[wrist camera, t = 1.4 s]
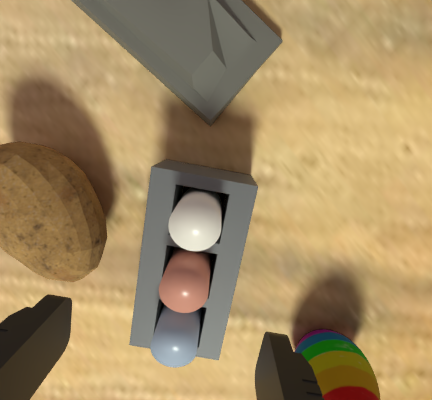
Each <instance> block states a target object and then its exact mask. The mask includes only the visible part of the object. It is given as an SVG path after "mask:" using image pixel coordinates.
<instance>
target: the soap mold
mask: <svg viewBox="0 0 432 400" xmlns="http://www.w3.org/2000/svg"><path fill="white" fill-rule="evenodd" d="M72 1H73V2H74V3H75V4H76V5H77V6H78V7H79V8H80V9H81V10H83V11H84V12H85V13H86V14H87V15H88V16H89V17H90V18H91V19H93V20H94V21H95V22H96V23H97V24H98V25H99V26H100V27H101V28H102V29H104V30H105V31H106V32H107V33H108V34H109V35H110V36H111V37H112V38H113V39H115V40H116V41H117V42H118V43H119V44H120V45H121V46H122V47H123V48H124V49H126V50H127V51H128V52H129V53H130V54H131V55H132V56H133V57H134V58H135V59H137V60H138V61H139V62H140V63H141V64H142V65H143V66H144V67H145V68H146V69H148V70H149V71H150V72H151V73H152V74H153V75H154V76H155V77H156V78H157V79H159V80H160V81H161V82H162V83H163V84H164V85H165V86H166V87H167V88H169V89H170V90H171V91H172V92H173V93H174V94H175V95H176V96H177V97H178V98H180V99H181V100H182V101H183V102H184V103H185V104H186V105H187V106H188V107H190V108H191V109H192V110H193V111H194V112H195V113H196V114H197V115H198V116H199V117H201V118H202V119H203V120H204V121H205V122H206V123H207V124H208V125H209V126H211V125H212V124H213V122H214V121H215V120H216V119H217V118H218V116H219V115H220V114H221V113H222V112H223V110H224V109H225V108H226V107H227V106H228V105H229V103H230V102H231V101H232V100H233V99H234V97H235V96H236V95H237V94H238V93H239V91H240V90H241V89H242V88H243V87H244V85H245V84H246V83H247V82H248V81H249V80H250V78H251V77H252V76H253V75H254V74H255V72H256V71H257V70H258V69H259V68H260V66H261V65H262V64H263V63H264V62H265V61H266V60H267V59H268V58H269V56H270V55H271V54H272V53H273V52H274V51H275V50H276V49H277V48H278V47H279V45H280V44H281V43H282V40H281V39H280V38H279V37H278V36H277V35H276V34H275V33H274V32H273V31H272V30H271V29H270V28H269V27H268V26H267V25H266V24H265V23H264V22H263V21H262V20H261V19H260V18H259V17H258V16H257V15H256V14H255V13H254V12H253V11H252V10H251V9H250V8H249V7H248V6H247V5H246V4H245V3H244V2H243V1H242V0H72Z"/></svg>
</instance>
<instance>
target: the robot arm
mask: <svg viewBox="0 0 432 400" xmlns="http://www.w3.org/2000/svg"><path fill="white" fill-rule="evenodd" d="M71 312H72V300H71V298H67V297H61V296H55V295H46V296H45V297H44V298H43V299H41V300H40V301H39V302H38V303H37V304H36V305H35V306H34V307H33V308H30V307H26V308H24V309H22V310H20V311H18V312H16V313H14V314H12V315H10V316H8V317H7V318H6V319H5V320H4V321H2V322H1V323H0V400H30V398H31V397H32V396H33V394H34V393H35V391H36V390H37V389H38V387H39V386H40V385H41V383H42V382H43V380H44V379H45V378H46V376H47V375H48V373H49V372H50V371H51V369H52V368H53V366H54V365H55V364H56V362H57V361H58V360H59V358H60V357H61V355H62V354H63V352H64V351H65V349H66V347H67V344H68V341H69V338H70V330H71ZM255 389H256V396H257V400H324V398H323V397H322V395H323V394H322V392H321V389H320V387H319V385H318V381H317V379H316V376H315V374H314V371H313V368H312V366H311V365H310V364H309V363H308V361H307V360H306V359H305V357H304V356H303V355H302V354H301V353H296V352H293V350H292V347H291V344H290V341H289V338H288V336H287V335H284V334H278V333H272V332H266V333H265V334H264V338H263V341H262V345H261V349H260V353H259V357H258V360H257V364H256V370H255Z"/></svg>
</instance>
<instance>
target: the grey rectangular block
mask: <svg viewBox="0 0 432 400" xmlns="http://www.w3.org/2000/svg"><path fill="white" fill-rule="evenodd" d="M183 186H188V187H193V188H199V189H204V190H210V191H215V192H220V193H226V195H225V200H224V206H223V211H222V216H221V233H220V236H219V238H218V240H217V241H216V242H215V244H214V245H212V246H211V247H210V248H208V249H205V250H202V252H208V253H214V256H213V261H212V266H211V269H210V280H209V292H208V298H207V300H206V302H205V304H204V305H203V306H202V307H203V309H202V312H201V320H200V329H199V337H198V346H197V353H196V356H197V357H202V358H208V359H214V360H219V356H220V352H221V348H222V343H223V339H224V334H225V330H226V326H227V321H228V317H229V312H230V308H231V304H232V299H233V295H234V290H235V286H236V282H237V277H238V273H239V268H240V264H241V260H242V255H243V251H244V246H245V242H246V238H247V233H248V229H249V224H250V220H251V216H252V211H253V207H254V202H255V198H256V194H257V189H258V185H257V184H256V182H255V181H254V179H253V178H252V176H251V175H248V174H242V173H237V172H231V171H226V170H221V169H215V168H210V167H205V166H199V165H194V164H189V163H183V162H178V161H173V160H167V159H166V160H164V161H162V162H160V163H158V164H156V165H154V166H152V167H151V175H150V183H149V191H148V199H147V207H146V215H145V223H144V231H143V239H142V247H141V255H140V263H139V271H138V279H137V288H136V296H135V304H134V312H133V320H132V328H131V336H130V344H129V345H132V346H138V347H144V348H150V346H151V341H152V338H153V335H154V332H155V329H156V326H157V323H158V320H159V317H160V314H161V311H162V309H163V306H164V303H163V302H162V300H161V298H160V295H159V285H160V282H161V280H162V277H163V275H164V272H165V270H166V268H167V265H168V263H169V260H170V258H171V256H172V253H173V250H174V246H175V247H180V246H178V245H177V244H176V243H175V242H174V240H173V239H172V237H171V235H170V233H169V227H168V224H169V218H170V216H171V214H172V212H173V211H174V209H175V207H176V206H177V204H178V203H179V201H180V199H181V198H182V192H183ZM180 248H181V247H180ZM150 349H151V348H150Z"/></svg>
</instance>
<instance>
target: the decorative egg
mask: <svg viewBox="0 0 432 400" xmlns="http://www.w3.org/2000/svg"><path fill="white" fill-rule="evenodd" d="M295 352H296V353H301V354H302V355H303V356H304V357H305V359H306V360H307V361H308V363H309V364H310V365H311V366H312V368H313V371H314V374H315V376H316V379H317V381H318V385H319V387H320V389H321V392H322V394H323V395H322V397H323V398H324V400H380V393H379V387H378V383H377V380H376V377H375V374H374V372H373V370H372V368H371V366H370V364H369V362H368V360H367V358H366V357H365V355H364V354H363V353H362V351H361V350H360V349H359V348H358V347H357V346H356V345H355V344H354V343H353V342H352V341H351V340H350V339H348V338H347V337H345V336H344V335H342V334H340V333H338V332H335V331H332V330H326V329H319V330H314V331H312V332H309V333H308V334H306V335H305V336H304V337H303V338H302V339H301V340H300V342H299V343H298V345H297V347H296V350H295Z"/></svg>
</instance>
